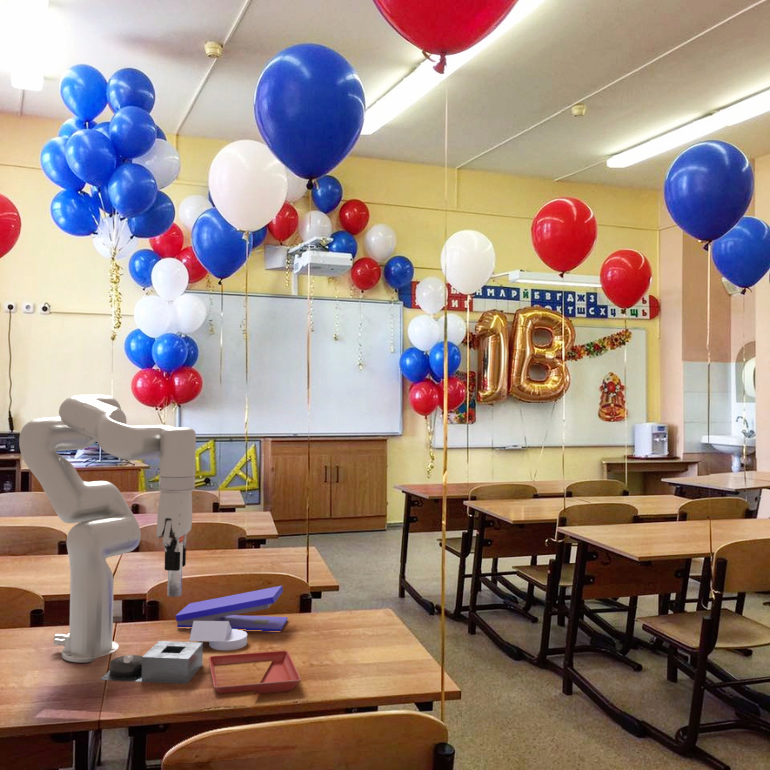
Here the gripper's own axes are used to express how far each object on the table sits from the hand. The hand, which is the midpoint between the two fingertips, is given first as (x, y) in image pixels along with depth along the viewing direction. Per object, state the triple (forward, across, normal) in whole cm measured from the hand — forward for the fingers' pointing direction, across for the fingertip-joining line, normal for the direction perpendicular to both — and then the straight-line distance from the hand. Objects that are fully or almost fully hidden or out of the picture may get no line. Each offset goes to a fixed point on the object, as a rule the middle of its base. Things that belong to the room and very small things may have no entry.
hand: (175, 567), depth 161 cm
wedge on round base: (+24, -19, +5) cm, 31 cm away
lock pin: (+6, 0, 0) cm, 6 cm away
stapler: (+25, -37, +3) cm, 45 cm away
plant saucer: (+25, -1, +18) cm, 30 cm away
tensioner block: (+24, 0, -4) cm, 25 cm away
